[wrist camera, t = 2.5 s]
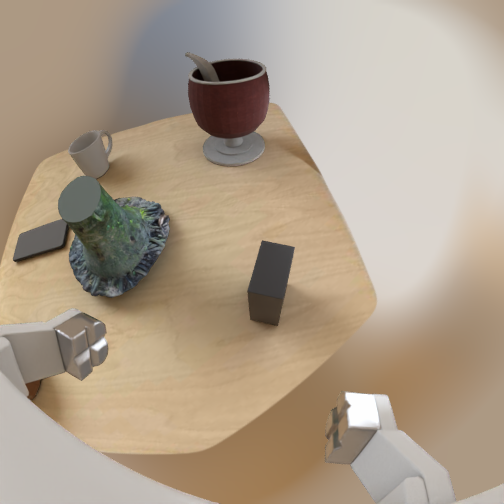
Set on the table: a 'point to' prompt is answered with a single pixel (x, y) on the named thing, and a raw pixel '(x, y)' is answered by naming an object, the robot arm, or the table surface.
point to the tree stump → (111, 236)
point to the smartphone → (41, 240)
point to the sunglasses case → (269, 282)
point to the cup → (91, 153)
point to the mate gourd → (229, 107)
